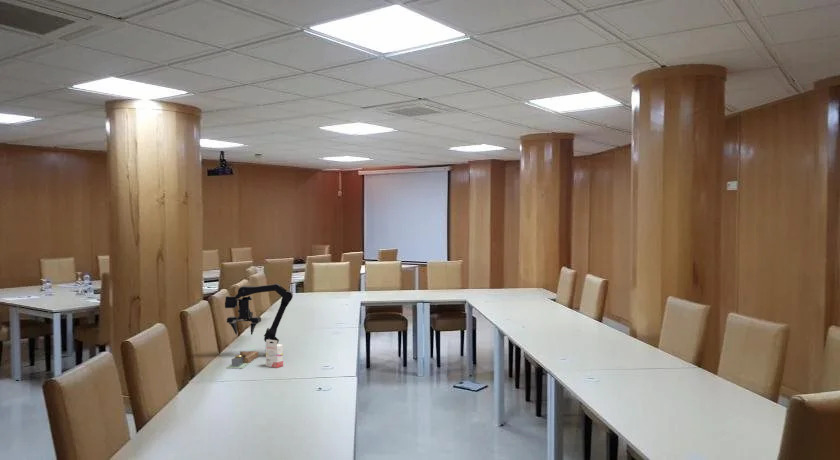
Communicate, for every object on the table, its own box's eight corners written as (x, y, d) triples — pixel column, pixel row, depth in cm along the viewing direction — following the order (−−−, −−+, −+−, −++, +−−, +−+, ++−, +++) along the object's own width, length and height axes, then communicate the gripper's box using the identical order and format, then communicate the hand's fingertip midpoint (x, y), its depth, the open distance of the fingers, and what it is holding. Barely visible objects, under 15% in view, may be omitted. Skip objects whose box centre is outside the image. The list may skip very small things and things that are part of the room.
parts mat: (248, 364, 314) (248, 363, 314) (242, 368, 305) (242, 367, 305) (232, 364, 315) (232, 363, 315) (226, 368, 306) (225, 367, 306)
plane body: (258, 356, 332) (258, 346, 331) (247, 363, 316) (247, 352, 316) (246, 356, 332) (246, 346, 332) (235, 363, 316) (235, 352, 316)
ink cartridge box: (283, 365, 310) (283, 339, 310) (277, 368, 306) (277, 340, 306) (271, 364, 314) (271, 337, 314) (265, 366, 310) (265, 339, 310)
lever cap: (243, 363, 313) (243, 354, 313) (238, 366, 307) (238, 357, 307) (236, 363, 313) (236, 354, 313) (231, 366, 307) (231, 357, 307)
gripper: (264, 305, 339) (264, 332, 339) (234, 305, 341) (234, 331, 341) (257, 308, 328) (257, 335, 328) (226, 308, 330) (226, 335, 330)
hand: (244, 334), depth 332 cm, fingers open, 9 cm apart
